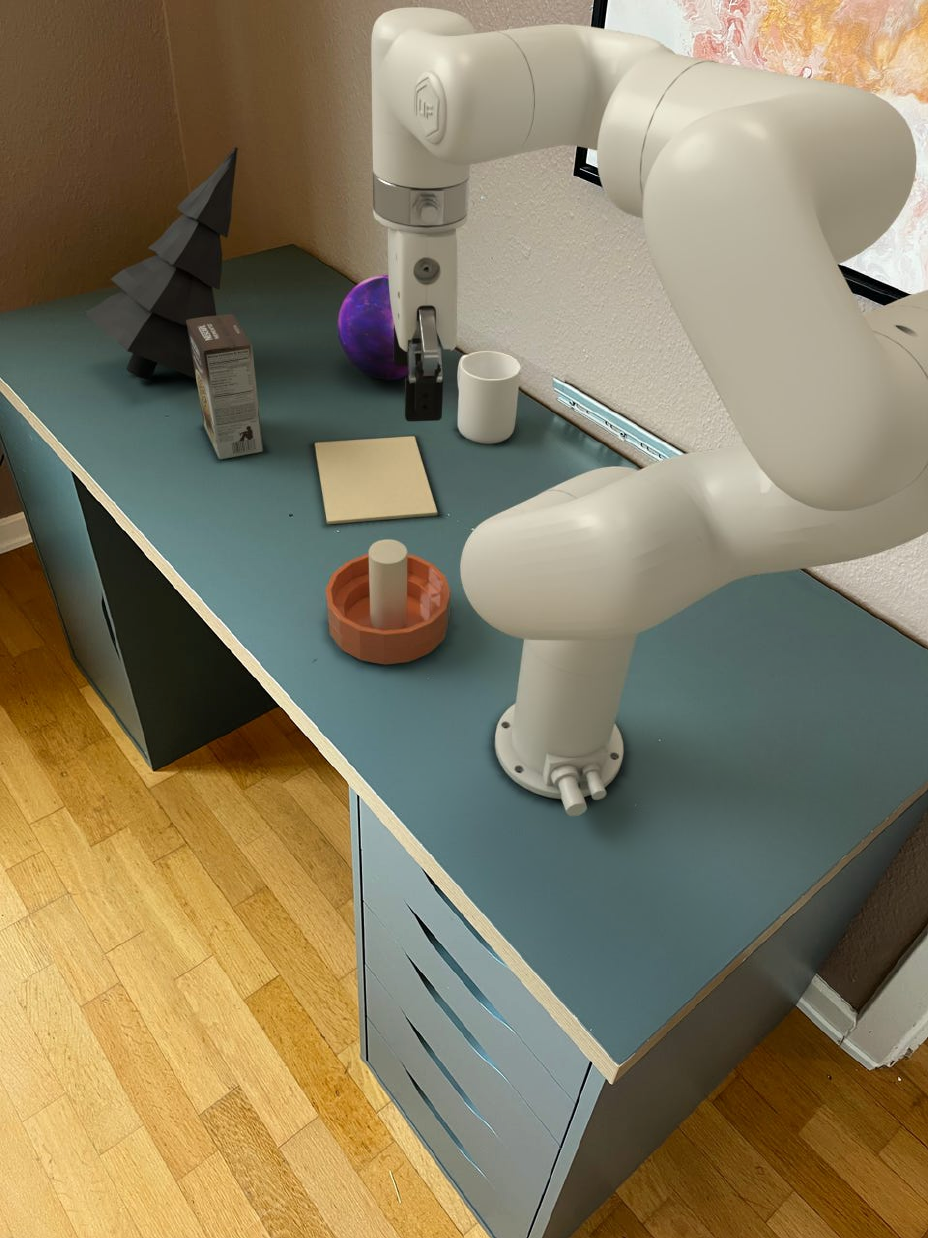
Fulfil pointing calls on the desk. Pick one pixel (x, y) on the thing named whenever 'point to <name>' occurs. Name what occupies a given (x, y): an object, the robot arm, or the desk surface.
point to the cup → (487, 396)
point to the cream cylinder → (388, 585)
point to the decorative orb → (370, 329)
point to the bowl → (391, 646)
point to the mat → (373, 480)
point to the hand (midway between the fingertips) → (416, 390)
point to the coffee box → (226, 384)
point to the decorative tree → (172, 281)
